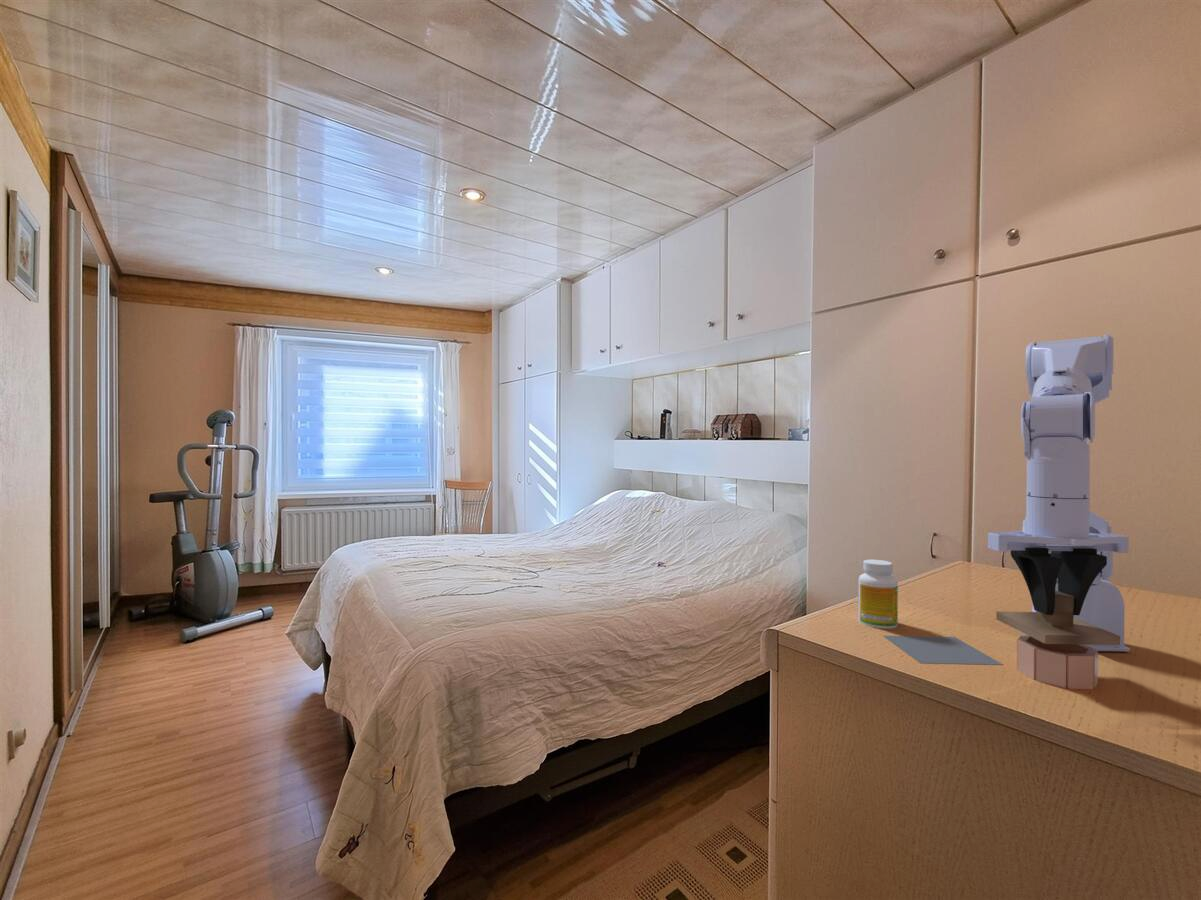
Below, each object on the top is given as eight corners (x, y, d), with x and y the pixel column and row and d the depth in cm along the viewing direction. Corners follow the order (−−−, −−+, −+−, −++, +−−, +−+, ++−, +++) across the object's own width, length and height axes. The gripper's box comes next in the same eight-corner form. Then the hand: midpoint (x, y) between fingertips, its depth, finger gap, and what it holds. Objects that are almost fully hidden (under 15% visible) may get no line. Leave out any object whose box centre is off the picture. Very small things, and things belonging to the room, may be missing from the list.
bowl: (1063, 667, 68) (1063, 635, 68) (1113, 692, 61) (1113, 656, 61) (1004, 666, 68) (1005, 634, 68) (1048, 691, 61) (1048, 655, 61)
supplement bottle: (902, 632, 81) (903, 566, 81) (863, 629, 82) (863, 564, 82) (891, 621, 86) (891, 559, 86) (854, 618, 87) (854, 557, 87)
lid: (1062, 620, 68) (1063, 584, 68) (1119, 645, 60) (1121, 604, 60) (996, 619, 69) (997, 583, 69) (1044, 643, 61) (1046, 603, 61)
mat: (954, 639, 77) (954, 636, 77) (1003, 667, 68) (1003, 664, 68) (882, 638, 78) (882, 635, 78) (920, 666, 68) (920, 662, 68)
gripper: (1017, 499, 61) (1017, 622, 61) (1154, 500, 60) (1153, 624, 60) (976, 494, 68) (976, 604, 68) (1098, 495, 67) (1098, 606, 67)
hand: (1056, 612), depth 64 cm, fingers closed on lid, 2 cm apart
